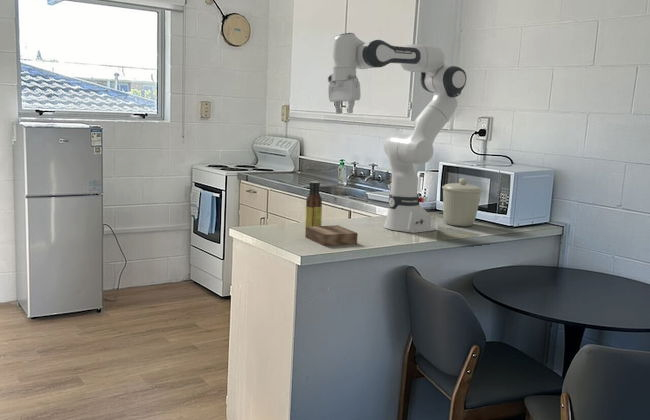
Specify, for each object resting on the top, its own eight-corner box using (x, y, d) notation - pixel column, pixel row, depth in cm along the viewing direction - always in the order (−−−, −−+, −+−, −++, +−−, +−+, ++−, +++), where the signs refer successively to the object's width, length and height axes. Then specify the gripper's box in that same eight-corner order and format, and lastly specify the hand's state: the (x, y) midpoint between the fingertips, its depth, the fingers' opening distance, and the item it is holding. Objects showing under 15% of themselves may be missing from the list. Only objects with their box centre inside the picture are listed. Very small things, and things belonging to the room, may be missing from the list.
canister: (429, 221, 291) (434, 175, 287) (456, 219, 302) (461, 175, 298) (460, 229, 277) (465, 181, 273) (487, 227, 287) (492, 180, 284)
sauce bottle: (321, 231, 253) (325, 181, 249) (319, 234, 246) (323, 183, 243) (305, 230, 253) (308, 180, 250) (303, 233, 247) (306, 182, 244)
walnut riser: (337, 235, 247) (337, 225, 247) (356, 243, 236) (357, 233, 235) (305, 237, 240) (305, 226, 240) (323, 245, 229) (324, 234, 228)
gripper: (365, 75, 236) (364, 113, 238) (340, 78, 255) (339, 113, 256) (349, 74, 234) (349, 112, 235) (325, 78, 252) (325, 113, 254)
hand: (344, 113), depth 246 cm, fingers open, 8 cm apart
